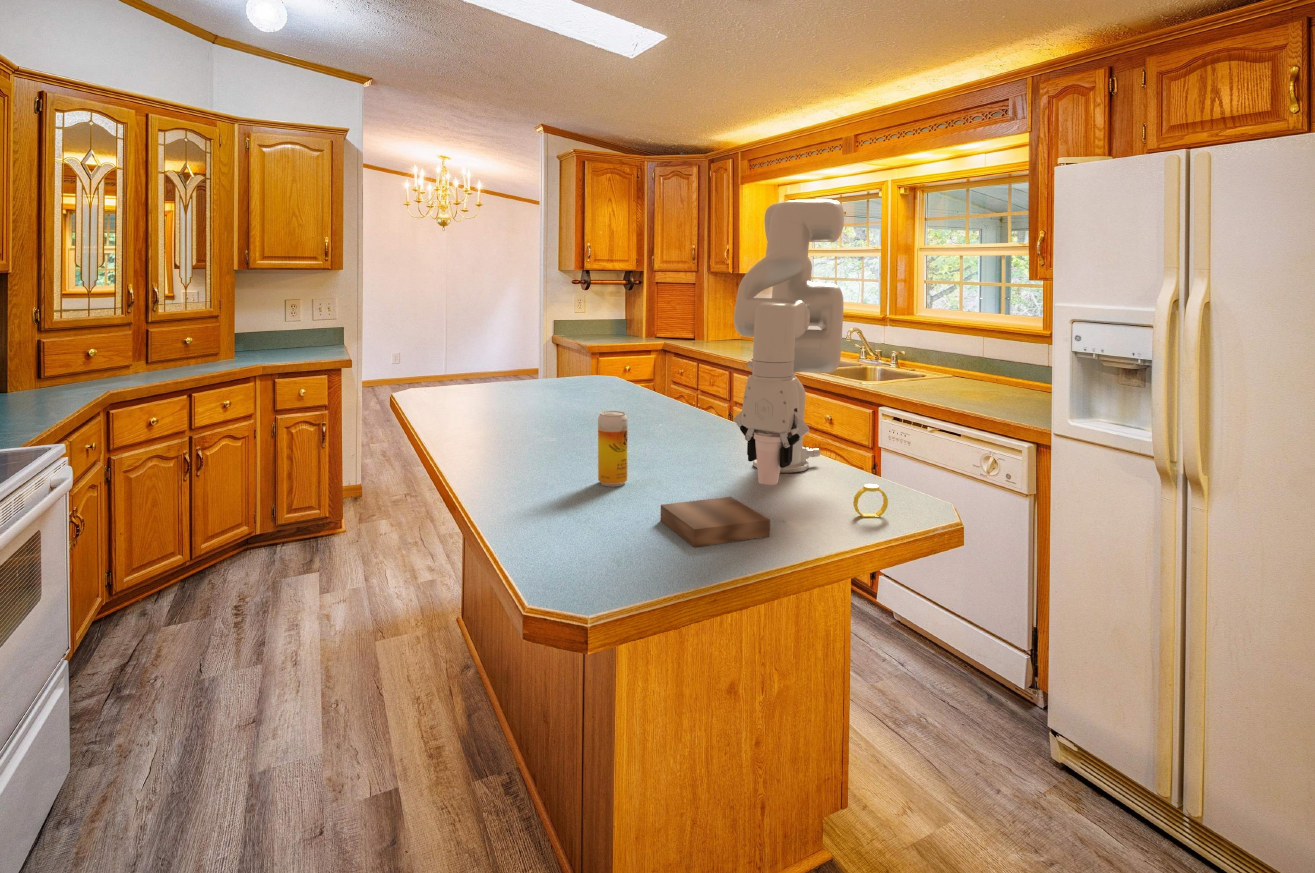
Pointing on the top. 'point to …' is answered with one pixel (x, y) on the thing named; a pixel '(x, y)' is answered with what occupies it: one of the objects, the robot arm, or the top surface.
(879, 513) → the watch
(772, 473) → the smoothie
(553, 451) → the top surface
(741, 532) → the walnut base
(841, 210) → the robot arm
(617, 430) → the beer can
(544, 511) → the top surface
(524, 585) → the top surface
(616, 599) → the top surface
